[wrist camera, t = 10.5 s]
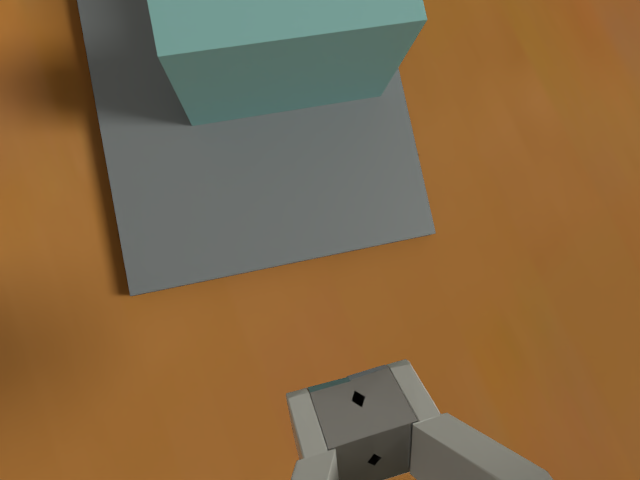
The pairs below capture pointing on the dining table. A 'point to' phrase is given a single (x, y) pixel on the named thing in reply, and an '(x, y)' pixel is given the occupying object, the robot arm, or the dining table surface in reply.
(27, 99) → the dining table surface
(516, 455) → the robot arm
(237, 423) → the dining table surface
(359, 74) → the tee block
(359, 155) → the slate board
